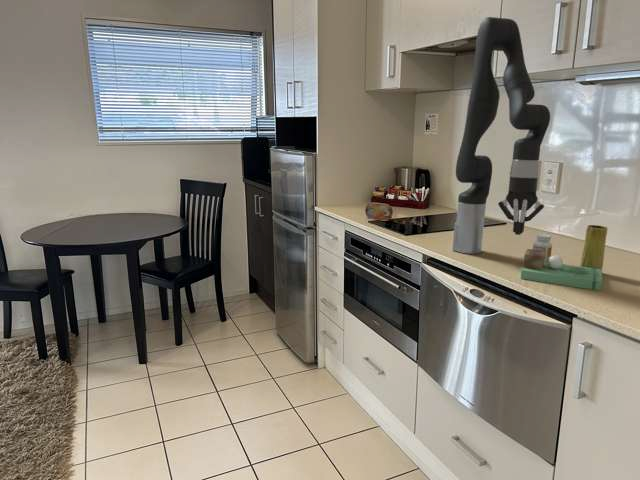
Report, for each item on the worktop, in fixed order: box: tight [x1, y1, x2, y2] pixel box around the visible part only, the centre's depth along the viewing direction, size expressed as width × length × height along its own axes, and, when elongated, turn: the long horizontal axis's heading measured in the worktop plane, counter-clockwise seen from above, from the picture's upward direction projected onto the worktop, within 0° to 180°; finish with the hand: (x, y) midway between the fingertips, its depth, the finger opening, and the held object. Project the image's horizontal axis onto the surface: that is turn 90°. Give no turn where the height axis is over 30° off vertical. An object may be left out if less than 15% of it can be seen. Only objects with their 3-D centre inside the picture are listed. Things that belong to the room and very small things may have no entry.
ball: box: [547, 254, 564, 269], centre depth 137 cm, size 4×4×4 cm
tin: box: [365, 201, 394, 222], centre depth 220 cm, size 15×3×8 cm, turn 42°
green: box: [520, 262, 603, 291], centre depth 137 cm, size 20×14×2 cm
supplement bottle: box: [532, 233, 553, 262], centre depth 149 cm, size 5×5×10 cm
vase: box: [580, 224, 608, 273], centre depth 141 cm, size 6×6×14 cm
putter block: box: [522, 248, 546, 270], centre depth 139 cm, size 5×8×4 cm, turn 151°
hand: (517, 234), depth 140 cm, fingers closed
